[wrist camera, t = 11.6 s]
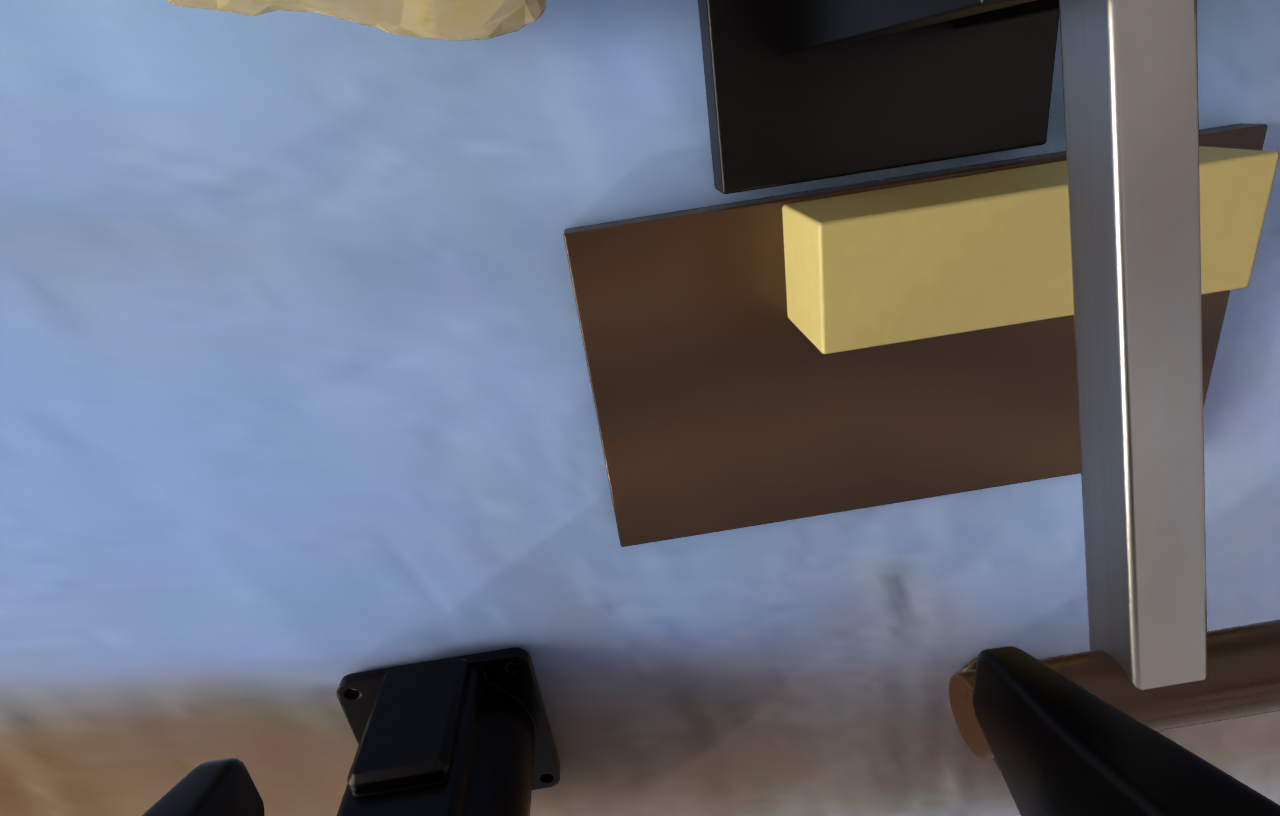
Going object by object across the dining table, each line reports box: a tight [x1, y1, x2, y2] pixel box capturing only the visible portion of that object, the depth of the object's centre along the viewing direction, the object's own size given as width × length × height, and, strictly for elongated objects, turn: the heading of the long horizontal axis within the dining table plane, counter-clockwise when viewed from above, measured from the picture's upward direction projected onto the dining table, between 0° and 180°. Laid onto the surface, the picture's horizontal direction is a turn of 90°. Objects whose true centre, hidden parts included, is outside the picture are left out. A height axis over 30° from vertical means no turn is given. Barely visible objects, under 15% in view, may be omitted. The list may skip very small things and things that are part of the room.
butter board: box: [564, 124, 1267, 547], centre depth 19 cm, size 10×18×1 cm, turn 98°
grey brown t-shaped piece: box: [949, 0, 1280, 760], centre depth 9 cm, size 14×6×2 cm, turn 8°
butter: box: [782, 146, 1279, 354], centre depth 16 cm, size 3×10×3 cm, turn 98°
